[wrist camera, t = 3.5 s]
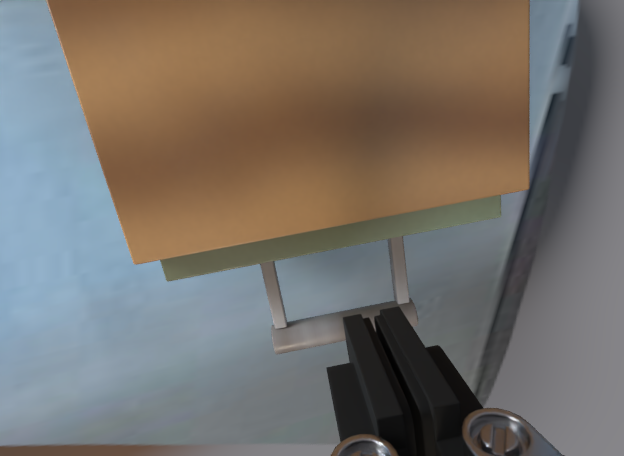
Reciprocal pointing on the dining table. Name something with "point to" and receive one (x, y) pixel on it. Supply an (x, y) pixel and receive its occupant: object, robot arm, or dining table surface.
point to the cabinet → (295, 111)
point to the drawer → (270, 250)
